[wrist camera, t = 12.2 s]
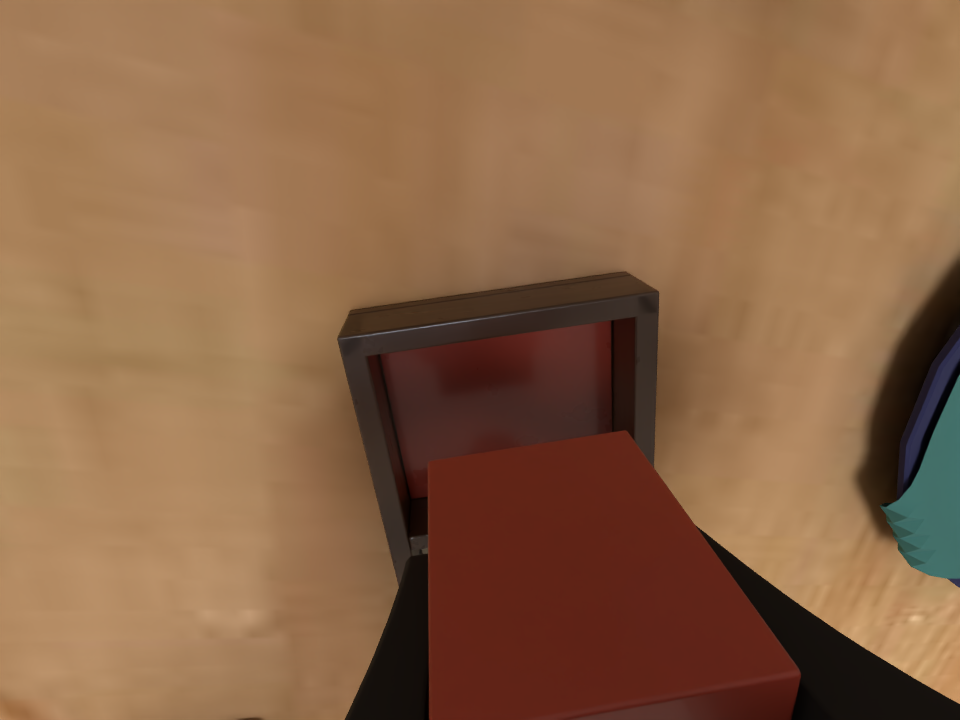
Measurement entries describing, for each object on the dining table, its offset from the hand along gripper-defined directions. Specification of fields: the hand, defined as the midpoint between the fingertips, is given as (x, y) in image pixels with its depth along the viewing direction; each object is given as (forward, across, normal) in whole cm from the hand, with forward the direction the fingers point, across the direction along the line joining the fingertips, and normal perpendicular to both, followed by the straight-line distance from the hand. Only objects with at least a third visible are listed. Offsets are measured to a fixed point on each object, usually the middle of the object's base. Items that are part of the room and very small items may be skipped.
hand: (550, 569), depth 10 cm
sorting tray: (+8, 0, +4) cm, 8 cm away
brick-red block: (+1, 0, 0) cm, 1 cm away
